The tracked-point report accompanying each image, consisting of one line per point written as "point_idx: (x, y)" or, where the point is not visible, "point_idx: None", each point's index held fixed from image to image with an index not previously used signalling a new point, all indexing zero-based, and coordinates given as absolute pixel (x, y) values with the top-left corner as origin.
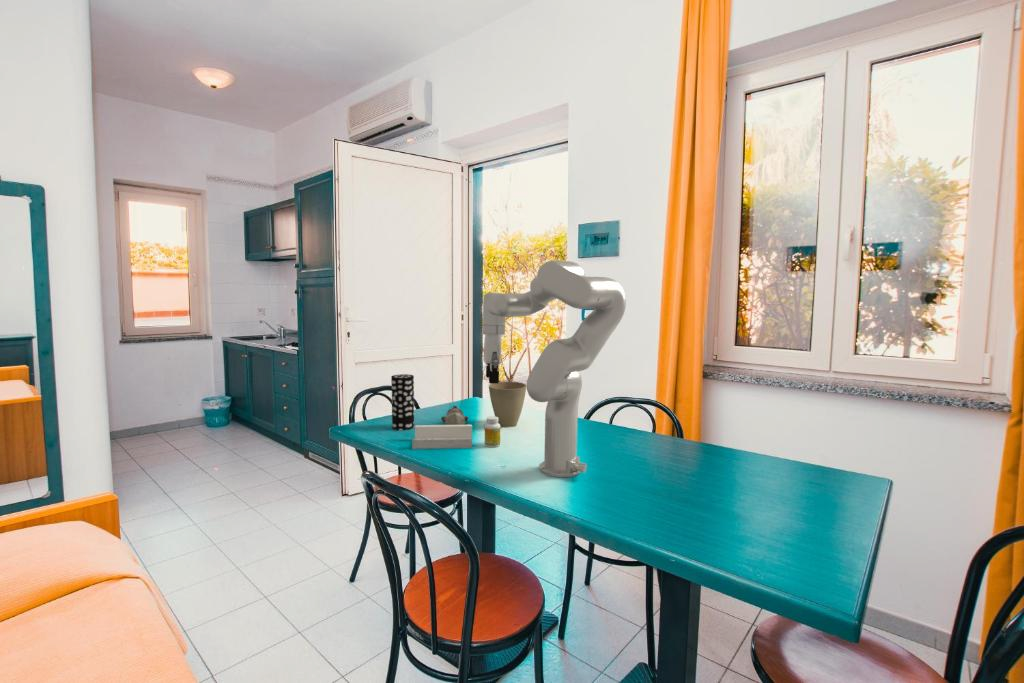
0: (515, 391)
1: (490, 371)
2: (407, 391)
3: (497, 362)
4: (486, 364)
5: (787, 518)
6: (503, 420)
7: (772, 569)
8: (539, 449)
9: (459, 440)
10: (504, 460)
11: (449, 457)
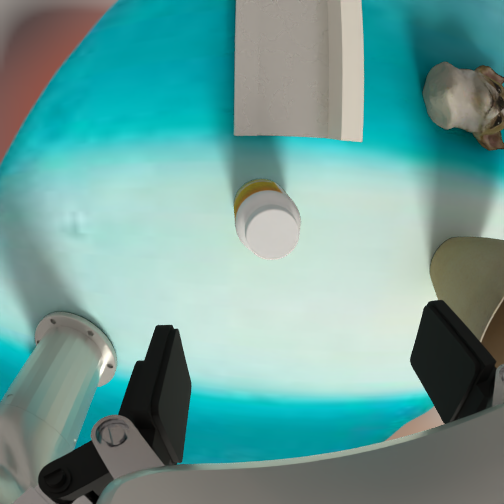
0: None
1: (103, 418)
2: None
3: None
4: (178, 465)
5: None
6: (441, 258)
7: None
8: (213, 333)
9: (234, 88)
10: (116, 235)
11: (143, 68)
